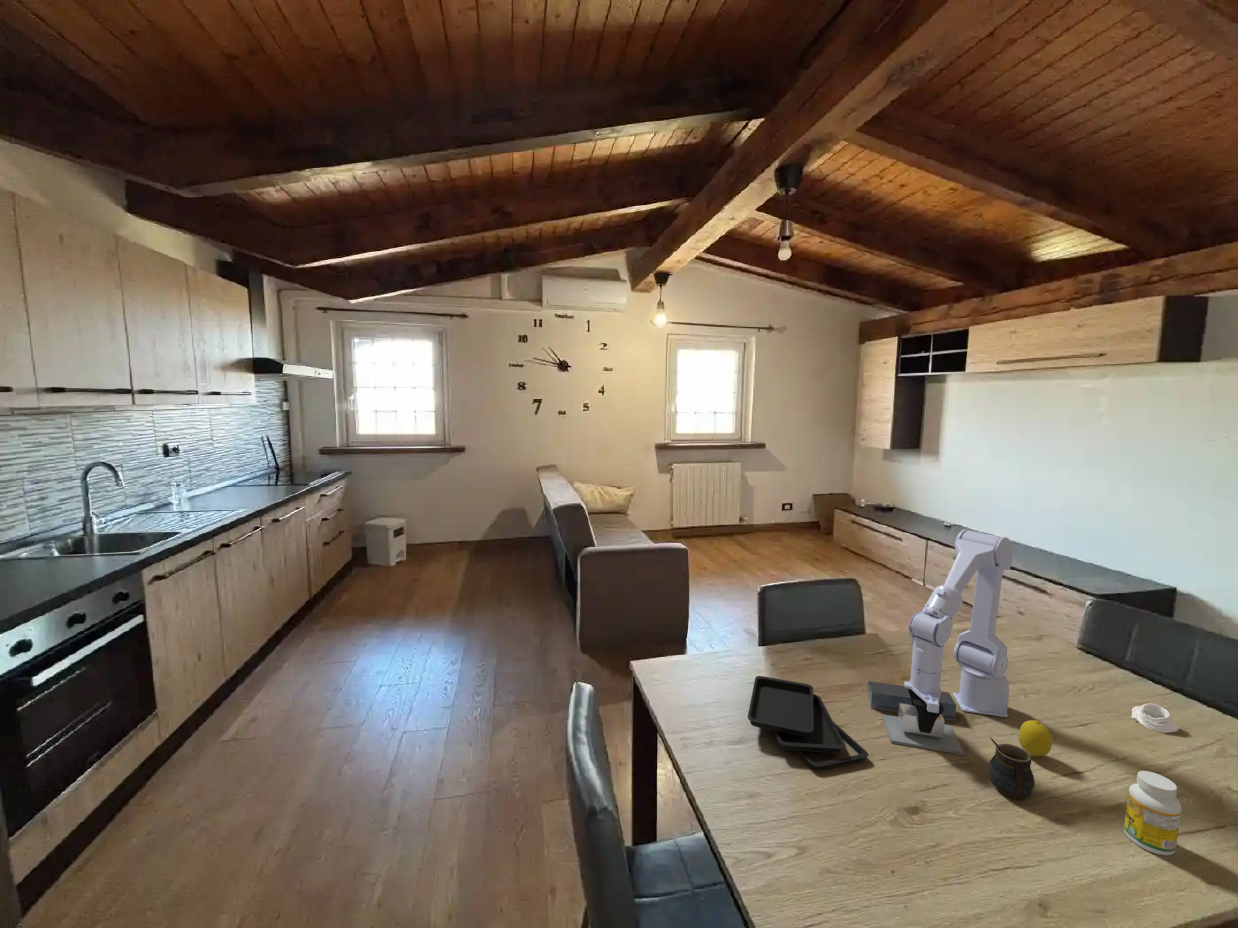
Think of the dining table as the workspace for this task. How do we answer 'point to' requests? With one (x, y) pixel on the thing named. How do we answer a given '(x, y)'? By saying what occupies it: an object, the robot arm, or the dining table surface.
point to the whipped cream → (1154, 718)
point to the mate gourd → (1011, 771)
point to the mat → (922, 737)
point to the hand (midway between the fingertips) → (921, 724)
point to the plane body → (903, 698)
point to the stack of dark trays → (799, 721)
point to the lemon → (1035, 738)
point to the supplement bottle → (1153, 813)
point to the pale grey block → (910, 721)
